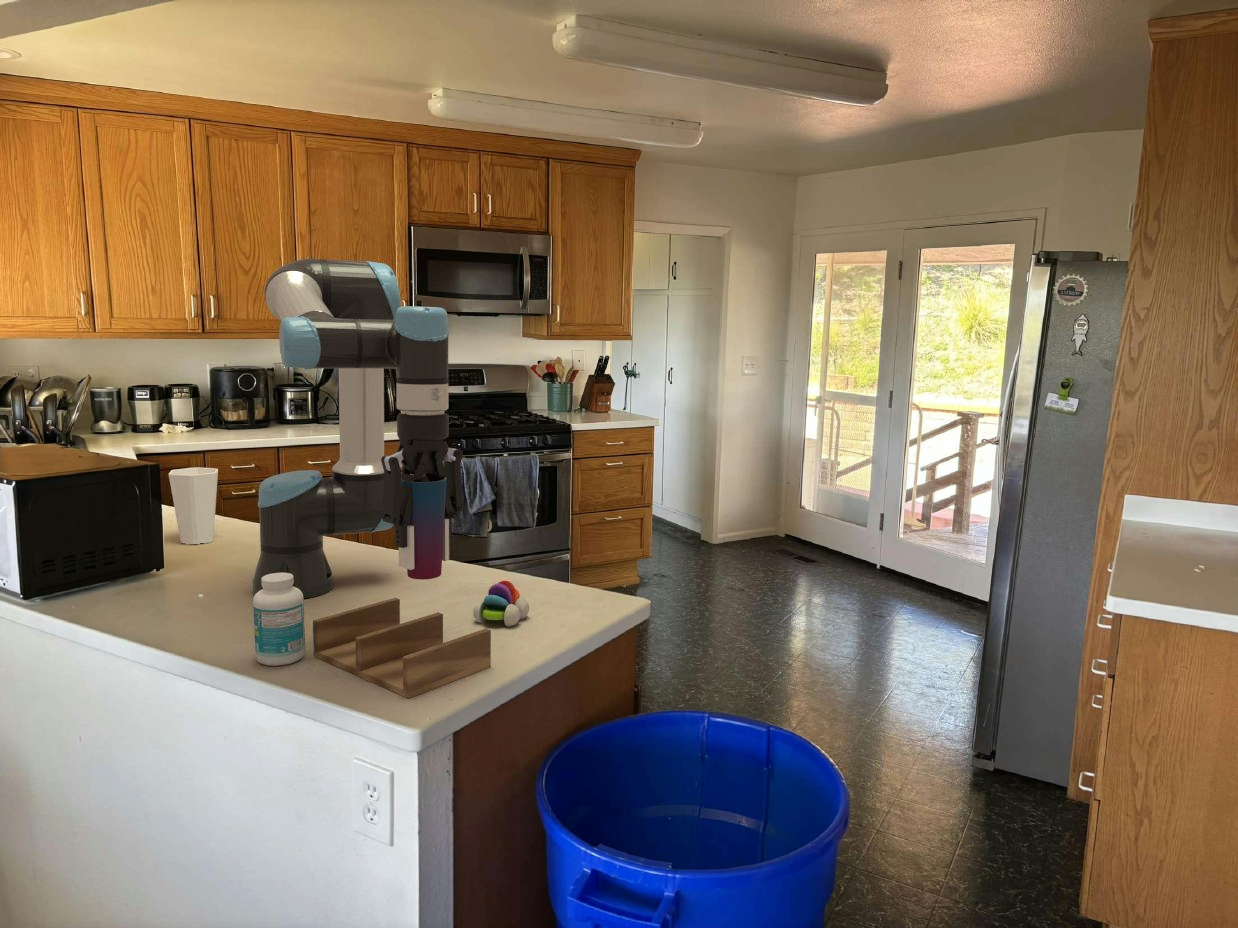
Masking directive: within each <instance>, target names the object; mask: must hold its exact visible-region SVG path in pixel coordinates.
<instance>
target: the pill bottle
mask: <svg viewBox="0 0 1238 928" xmlns="http://www.w3.org/2000/svg"><path fill="white" fill-rule="evenodd" d="M261 580H262V587H263V589H262V590H260V591H259V592H257V593H256V594H255V595H253V600H252V607H253V608H252V612H253V630H254V631H253V633H254V652H255V653H254V654H255V655H254V656H255V659H256V661H257V662H258V663H260V664H261V665H265V666H271V667H274V666H275V667H277V666H279V667H280V666H285V665H290V664H294V663H296V662H298V661H299V660H301V659H302V658H303V657H304V656H305V654H306V633H305V630H306V629H305V608H304V607H305V606H304V604H305V603H304V598H303V594H302V592H301V591H300V590H299V589H298V588H296V587H293V586H292V585H293V583H294V578H293V575H292V574H290V573H272V574H268V575H265V576H263V577H262V579H261Z"/></svg>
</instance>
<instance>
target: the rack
mask: <svg viewBox="0 0 1238 928" xmlns="http://www.w3.org/2000/svg"><path fill="white" fill-rule="evenodd" d="M400 601H401V600H400V598H397V597H393V598H389V599H386V600H381V601H378V602H374V603H371V604H367V605H363V606H359V607H357V608H353V609H349V610H345V611H342V612H339V613H334V614H331V615H326V616H324V617H320V618H317V619H313V620H312V633H313V635H312V636H313V637H312V638H313V640H312V641H313V657H314V658H317V659H319V660H322V661H324V662H326V663H328V664H330V665H333V666H335V667H338V668H339V669H342V670H344V671H346V672H348V673H350V674H353V675H355V676H357V677H360V678H362V679H364V680H366V681H368V682H371V683H373V684H374V685H377V686H379V687H382V688H384V689H386V690H389V691H391V692H392V693H395V694H397V695H399V696H401V697H403V698H406V699H411V698H414V697H416V696H419V695H421V694H424V693H427V692H429V691H432V690H434V689H437V688H439V687H442V686H445V685H447V684H450V683H451V682H454V681H457V680H459V679H462V678H466V677H467V676H470V675H473V674H475V673H478V672H480V671H483V670H486V669H487V668H491V667H492V664H491V663H492V661H491V660H492V659H491V657H492V656H491V655H492V654H491V652H492V638H491V637H492V631H491V629H488V628H482V629H480V630H477V631H474V632H471V633H468V634H466V635H463V636H459V637H457V638H454V639H450V640H448V641H445V642H444V613H441V612H435V613H432V614H428V615H424V616H422V617H418V618H415V619H412V620H409V621H405V622H402V623H401V610H400V609H401V605H400V604H401V603H400Z"/></svg>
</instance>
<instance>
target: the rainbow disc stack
mask: <svg viewBox="0 0 1238 928" xmlns="http://www.w3.org/2000/svg"><path fill="white" fill-rule="evenodd" d="M487 593H488V594H487V595H485V597H484V599H483V600H481V601H479V602H477V603H476V604H475V606H474V607H473V611H472V614H473V617H474V619H475V620H476V622H478V623H481V624H483V623H485V622H486V621H487V620H489V621H490V620H491V621H504V625H505V626H506V627H507V628H508V627H510V628H511V627H512V626H515V625H516V624H517V623H518V622H519V621H520V620H524V619H525V618H526V617H528V615H529V613H530V605H529V602H528V601H527V600H526V598H523V597H521V596H520V595H521V594H520V591H519V590H518V589H517V588H516V587H515V585H514V584H513V583H512V582H511V581H509V580H501V581H499V582H497V583H494V584H493V585H491V586H490V587H489V588H488V592H487Z"/></svg>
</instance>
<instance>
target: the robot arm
mask: <svg viewBox="0 0 1238 928" xmlns="http://www.w3.org/2000/svg"><path fill="white" fill-rule="evenodd" d="M263 293H264V300H265V303H266V306H267V308H268V309H269V311H270V312H271V314H272V316H274V317H275V318H277V319H278V320H279V321H281V322H280V324H279V336H278V337H279V338H278V339H279V353H280V359H281V362H282V364H283V365H284V366H285V367H287V368H293V369H297V368H298V369H304V370H313V369H315V370H316V369H338V391H339V392H338V402H339V403H338V407H339V409H338V411H339V412H338V413H339V414H338V415H339V416H338V417H339V459H338V461H337V462H336V463H335V464H333V466H332V469H331V470H332V471H331V476H330V477H323V475H322V472H321V471H319V470H317V469H316V470H315V469H308V470H294V471H289V472H288V471H287V472H283V473H279V474H274V475H272V476H269V477H267V478H265V479H263V481H262V482H260V484H259V487H258V501H257V507H258V508H259V540H260V544H259V545H260V555H259V558H258V561H257V565H256V567H255V571H254V575H253V578H252V582H251V586H252V587H251V589H252V594H253V596H255V594H256V593H257V592H259V591H260V590H262V589H263V587H262V580H261V579H262V577H263V576H265V575H268V574H272V573H290V574H292V575H293V578H294V583H293V585H292V586H293V587H296V588H298V589H299V590H300V591H301V592H302V594H303V599H308V598H309V599H310V598H314V597H317V596H320V595H324V594H326V593H328V592H330V591H331V590H332V589H333V588H334V576H333V575H334V574H333V571H332V570H331V567H330V564H329V562H328V559H327V557H326V553H325V551H324V537H325V536H335V535H336V536H337V535H348V534H362V533H368V534H372V533H374V532H380V531H381V532H382V531H387V530H389V529H392V527H393V526H394V544H395V546H396V547H397V548H398V567H400V568H404V569H406V570H407V569H409V570H412V569H414V526H411V525H409V523H410V518H411V514H412V510H413V494H412V485H411V486H410V487H408V488H406V487H404V486H403V485H402V483H401V478H402V480H404V481H409V482H421V481H422V477H423V475H426V476H427V477H428V479H429V482H435V481H441V480H443V478H444V477H446V478H447V482H446V500H445V517H444V535H443V552H442V562H448V561H450V538H451V537H452V535H453V520H452V519H456V518H457V517H458V513H461V512H462V511H463V510H464V509H463V490H462V489H463V487H462V468H461V464H462V459H463V454H464V453H463V450H462V449H459V448H453V447H449V445H448V443H447V439H448V438H449V435H450V432H449V431H450V430H449V429H450V426H449V425H450V424H449V423H450V422H449V421H450V420H449V419H450V418H449V417H450V416H449V415H448V413H446V412H445V411H447V410H448V409H449V337H450V329H449V318H448V317H449V316H448V313H447V312H448V311H447V310H446V309H445V308H444V307H438V306H437V307H436V306H413V305H411V306H408V305H407V306H403V305H402V299H401V293H400V288H399V283H398V280H397V277H396V274H395V272H394V270H393V269H392V267H390V266H389V265H388V264H386V263H382V262H375V261H368V260H365V261H364V260H363V261H362V260H345V259H344V260H343V259H322V258H315V257H314V258H302V259H297V260H293V261H291V262H288V263H286V264H284V265H282V266H281V267H279V268H278V269H276V270H275V271H274V272H273V273H271V275H270V276H269V277H268V280H267V281H266V283H265V286H264V292H263ZM384 369H396V409H397V410H398V411H400V412H399V413H398V415H396V433H397V434H396V435H397V437H398V440H399V446H398V449H397V452H396V453H393V454H391V455H385V380H384V379H385V372H384V371H385V370H384ZM401 468H402V469H401Z"/></svg>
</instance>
